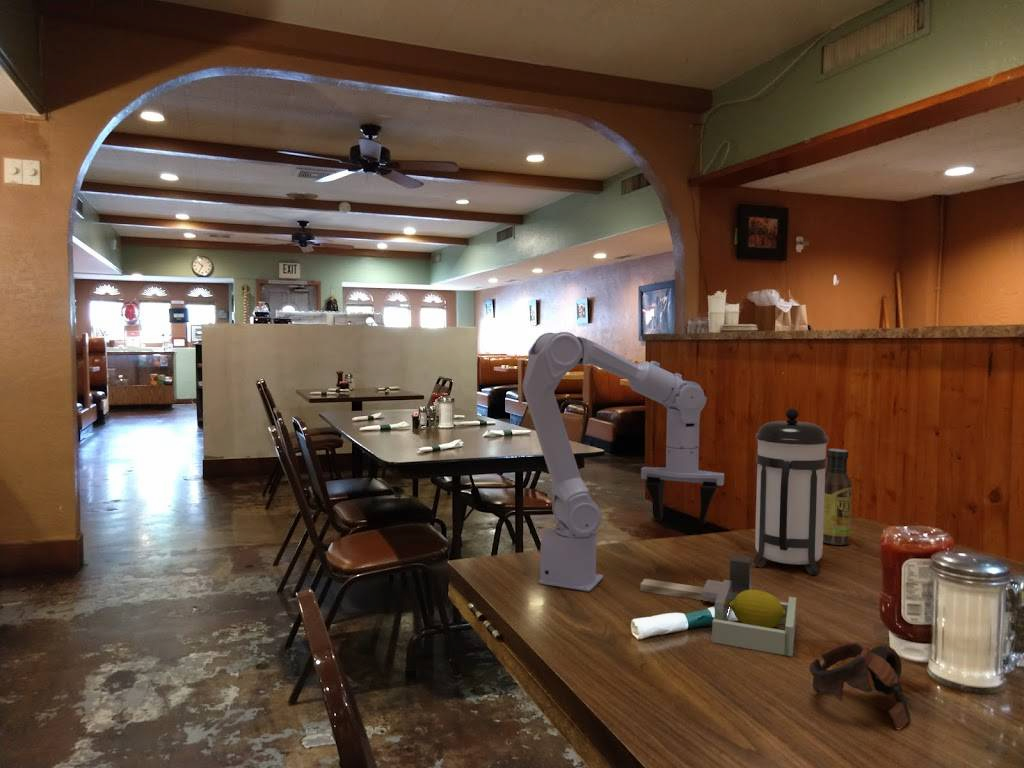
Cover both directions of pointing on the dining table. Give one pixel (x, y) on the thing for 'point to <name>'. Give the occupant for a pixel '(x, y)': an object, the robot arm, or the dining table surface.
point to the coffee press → (790, 492)
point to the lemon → (757, 609)
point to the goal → (759, 633)
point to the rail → (674, 590)
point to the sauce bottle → (837, 499)
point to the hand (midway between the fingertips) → (680, 520)
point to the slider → (729, 585)
